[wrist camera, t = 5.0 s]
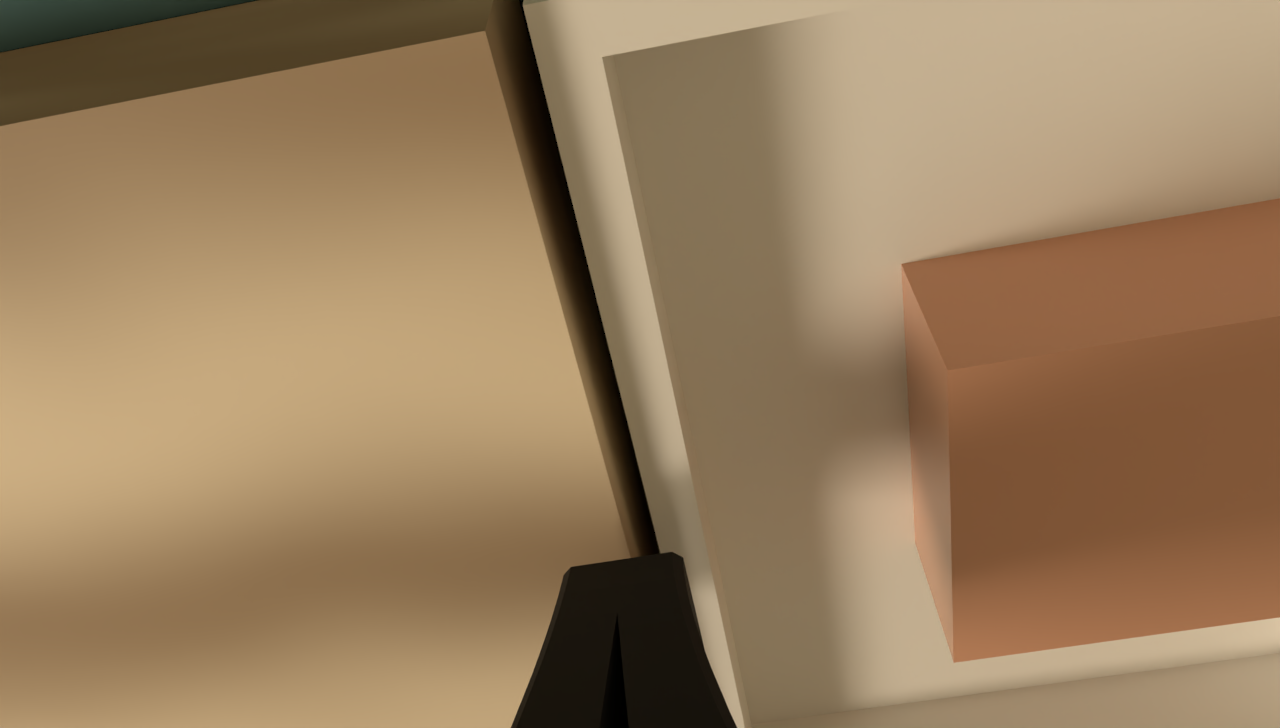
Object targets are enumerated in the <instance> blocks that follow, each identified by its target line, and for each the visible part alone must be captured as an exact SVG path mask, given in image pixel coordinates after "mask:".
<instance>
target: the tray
mask: <svg viewBox="0 0 1280 728" xmlns="http://www.w3.org/2000/svg"><path fill="white" fill-rule="evenodd" d="M523 9H524V13H525V17H526V21H527V25H528V29H529V33H530V37H531V41H532V45H533V49H534V53H535V57H536V61H537V65H538V69H539V72H540V76H541V80H542V84H543V88H544V92H545V96H546V100H547V104H548V108H549V112H550V116H551V120H552V124H553V128H554V132H555V136H556V140H557V144H558V148H559V152H560V156H561V160H562V164H563V168H564V172H565V176H566V180H567V184H568V188H569V192H570V196H571V200H572V204H573V208H574V212H575V216H576V220H577V224H578V228H579V232H580V236H581V240H582V244H583V247H584V251H585V255H586V259H587V263H588V267H589V271H590V275H591V279H592V283H593V287H594V291H595V295H596V299H597V303H598V307H599V311H600V315H601V319H602V323H603V327H604V331H605V335H606V339H607V343H608V347H609V351H610V355H611V359H612V363H613V367H614V371H615V375H616V379H617V383H618V387H619V391H620V395H621V399H622V403H623V407H624V411H625V415H626V419H627V422H628V426H629V430H630V434H631V438H632V442H633V446H634V450H635V454H636V458H637V462H638V466H639V470H640V474H641V478H642V482H643V486H644V490H645V494H646V498H647V502H648V506H649V510H650V514H651V518H652V522H653V526H654V530H655V534H656V538H657V542H658V546H659V550H660V553H667V552H674V553H676V554H678V555H679V556H681V557H683V559H684V563H685V568H686V572H687V576H688V580H689V585H690V589H691V593H692V598H693V602H694V606H695V610H696V615H697V619H698V623H699V628H700V632H701V636H702V640H703V645H704V649H705V652H706V655H707V658H708V660H709V663H710V666H711V668H712V671H713V673H714V675H715V678H716V680H717V682H718V685H719V687H720V690H721V692H722V694H723V697H724V699H725V701H726V704H727V706H728V709H729V711H730V713H731V715H732V718H733V720H734V722H735V724H736V726H737V728H1280V617H1279V618H1272V619H1265V620H1257V621H1250V622H1243V623H1236V624H1229V625H1222V626H1214V627H1207V628H1200V629H1193V630H1186V631H1178V632H1171V633H1164V634H1157V635H1150V636H1143V637H1135V638H1128V639H1121V640H1114V641H1107V642H1099V643H1092V644H1085V645H1078V646H1071V647H1064V648H1056V649H1049V650H1042V651H1035V652H1028V653H1021V654H1013V655H1006V656H999V657H992V658H985V659H977V660H970V661H963V662H956V663H954V662H953V659H952V656H951V653H950V650H949V647H948V644H947V641H946V638H945V634H944V631H943V628H942V625H941V622H940V619H939V616H938V613H937V610H936V607H935V604H934V600H933V597H932V594H931V591H930V588H929V585H928V582H927V579H926V576H925V573H924V569H923V566H922V563H921V560H920V557H919V554H918V551H917V548H916V545H915V532H914V512H913V492H912V472H911V452H910V431H909V411H908V391H907V371H906V351H905V331H904V311H903V291H902V271H901V264H904V263H910V262H916V261H921V260H927V259H933V258H939V257H944V256H950V255H956V254H962V253H967V252H973V251H979V250H985V249H991V248H996V247H1002V246H1008V245H1014V244H1019V243H1025V242H1031V241H1037V240H1042V239H1048V238H1054V237H1060V236H1066V235H1071V234H1077V233H1083V232H1089V231H1094V230H1100V229H1106V228H1112V227H1117V226H1123V225H1129V224H1135V223H1140V222H1146V221H1152V220H1158V219H1164V218H1169V217H1175V216H1181V215H1187V214H1192V213H1198V212H1204V211H1210V210H1215V209H1221V208H1227V207H1233V206H1238V205H1244V204H1250V203H1256V202H1262V201H1267V200H1273V199H1279V198H1280V0H524V1H523Z"/></svg>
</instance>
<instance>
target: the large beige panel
mask: <svg viewBox="0 0 1280 728" xmlns="http://www.w3.org/2000/svg"><path fill="white" fill-rule="evenodd" d="M654 554H659V551H658V547H657V543H656V539H655V535H654V531H653V527H652V523H651V519H650V515H649V511H648V507H647V503H646V500H645V496H644V492H643V488H642V484H641V480H640V476H639V472H638V468H637V464H636V460H635V456H634V452H633V448H632V444H631V440H630V436H629V432H628V428H627V424H626V420H625V416H624V412H623V408H622V404H621V400H620V397H619V393H618V389H617V385H616V381H615V377H614V373H613V369H612V365H611V361H610V357H609V353H608V349H607V345H606V341H605V337H604V333H603V329H602V325H601V321H600V317H599V313H598V309H597V305H596V301H595V298H594V294H593V290H592V286H591V282H590V278H589V274H588V270H587V266H586V262H585V258H584V254H583V250H582V246H581V242H580V238H579V234H578V230H577V226H576V222H575V218H574V214H573V210H572V206H571V202H570V198H569V195H568V191H567V187H566V183H565V179H564V175H563V171H562V167H561V163H560V159H559V155H558V151H557V147H556V143H555V139H554V135H553V131H552V127H551V123H550V119H549V115H548V111H547V107H546V103H545V99H544V96H543V92H542V88H541V84H540V80H539V76H538V72H537V68H536V64H535V60H534V56H533V52H532V48H531V44H530V40H529V36H528V32H527V28H526V24H525V20H524V16H523V12H522V8H521V4H520V0H258V1H253V2H248V3H243V4H239V5H234V6H229V7H224V8H219V9H214V10H209V11H204V12H199V13H194V14H189V15H184V16H179V17H175V18H170V19H165V20H160V21H155V22H150V23H145V24H140V25H135V26H130V27H125V28H120V29H115V30H111V31H106V32H101V33H96V34H91V35H86V36H81V37H76V38H71V39H66V40H61V41H56V42H51V43H47V44H42V45H37V46H32V47H27V48H22V49H17V50H12V51H7V52H2V53H0V728H511V726H512V723H513V721H514V718H515V716H516V713H517V711H518V708H519V706H520V703H521V701H522V698H523V696H524V693H525V691H526V688H527V686H528V683H529V681H530V678H531V676H532V673H533V671H534V668H535V665H536V662H537V659H538V657H539V654H540V651H541V648H542V645H543V642H544V640H545V637H546V634H547V631H548V628H549V625H550V621H551V618H552V615H553V612H554V608H555V605H556V602H557V598H558V595H559V591H560V587H561V583H562V579H563V576H564V574H565V573H566V572H567V571H568V570H569V568H570V567H574V566H580V565H587V564H594V563H600V562H607V561H614V560H620V559H627V558H634V557H640V556H647V555H654Z"/></svg>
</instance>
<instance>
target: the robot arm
mask: <svg viewBox="0 0 1280 728" xmlns="http://www.w3.org/2000/svg"><path fill="white" fill-rule="evenodd" d="M511 728H737V726H736V724H735V722H734V720H733V718H732V715H731V713H730V711H729V709H728V706H727V704H726V701H725V699H724V697H723V694H722V692H721V690H720V687H719V685H718V682H717V680H716V678H715V675H714V673H713V671H712V668H711V666H710V663H709V660H708V658H707V655H706V652H705V649H704V645H703V640H702V636H701V632H700V628H699V623H698V619H697V615H696V610H695V606H694V602H693V598H692V593H691V589H690V585H689V580H688V576H687V572H686V568H685V563H684V559H683V557H681V556H679V555H678V554H676V553H674V552H667V553H660V554H654V555H647V556H640V557H634V558H627V559H620V560H614V561H607V562H600V563H594V564H587V565H580V566H574V567H570V568H569V570H568V571H567V572H566V573H565V574H564V576H563V579H562V583H561V587H560V591H559V595H558V598H557V602H556V605H555V608H554V612H553V615H552V618H551V621H550V625H549V628H548V631H547V634H546V637H545V640H544V642H543V645H542V648H541V651H540V654H539V657H538V659H537V662H536V665H535V668H534V671H533V673H532V676H531V678H530V681H529V683H528V686H527V688H526V691H525V693H524V696H523V698H522V701H521V703H520V706H519V708H518V711H517V713H516V716H515V718H514V721H513V723H512V726H511Z"/></svg>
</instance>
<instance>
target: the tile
mask: <svg viewBox="0 0 1280 728" xmlns="http://www.w3.org/2000/svg"><path fill="white" fill-rule="evenodd" d="M901 271H902V291H903V311H904V331H905V351H906V371H907V391H908V411H909V431H910V452H911V472H912V492H913V512H914V532H915V545H916V548H917V551H918V554H919V557H920V560H921V563H922V566H923V569H924V573H925V576H926V579H927V582H928V585H929V588H930V591H931V594H932V597H933V600H934V604H935V607H936V610H937V613H938V616H939V619H940V622H941V625H942V628H943V631H944V634H945V638H946V641H947V644H948V647H949V650H950V653H951V656H952V659H953V662H954V663H956V662H963V661H970V660H977V659H985V658H992V657H999V656H1006V655H1013V654H1021V653H1028V652H1035V651H1042V650H1049V649H1056V648H1064V647H1071V646H1078V645H1085V644H1092V643H1099V642H1107V641H1114V640H1121V639H1128V638H1135V637H1143V636H1150V635H1157V634H1164V633H1171V632H1178V631H1186V630H1193V629H1200V628H1207V627H1214V626H1222V625H1229V624H1236V623H1243V622H1250V621H1257V620H1265V619H1272V618H1279V617H1280V198H1279V199H1273V200H1267V201H1262V202H1256V203H1250V204H1244V205H1238V206H1233V207H1227V208H1221V209H1215V210H1210V211H1204V212H1198V213H1192V214H1187V215H1181V216H1175V217H1169V218H1164V219H1158V220H1152V221H1146V222H1140V223H1135V224H1129V225H1123V226H1117V227H1112V228H1106V229H1100V230H1094V231H1089V232H1083V233H1077V234H1071V235H1066V236H1060V237H1054V238H1048V239H1042V240H1037V241H1031V242H1025V243H1019V244H1014V245H1008V246H1002V247H996V248H991V249H985V250H979V251H973V252H967V253H962V254H956V255H950V256H944V257H939V258H933V259H927V260H921V261H916V262H910V263H904V264H901Z"/></svg>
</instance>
